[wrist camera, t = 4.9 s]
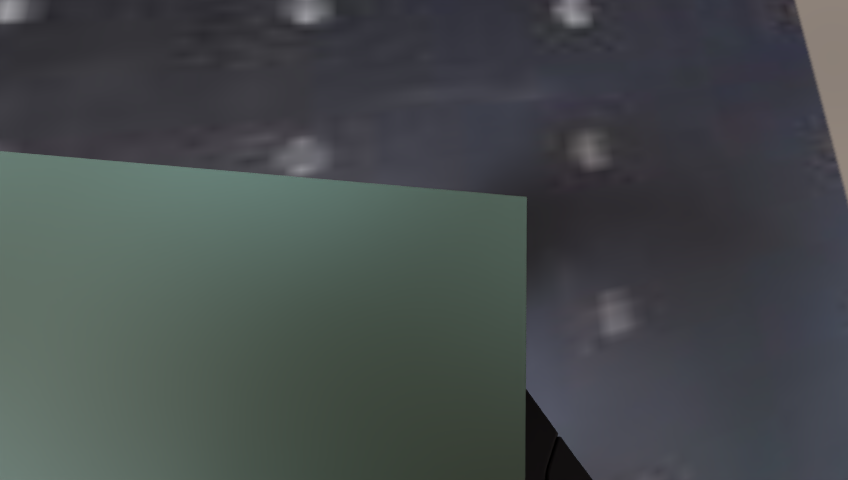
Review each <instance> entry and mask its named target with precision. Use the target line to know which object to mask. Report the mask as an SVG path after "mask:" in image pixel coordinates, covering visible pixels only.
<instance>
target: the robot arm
mask: <svg viewBox="0 0 848 480" xmlns="http://www.w3.org/2000/svg"><path fill="white" fill-rule="evenodd" d="M557 436H558V433H557V431H556V430H555V428H554V427H553V426H552V424H551V423H550V421H549V420H548V419H547V417H546V416H545V415H544V413H543V412H542V410H541V409H540V408H539V406H538V405H537V403H536V402H535V401H534V399H533V398H532V396H531V395H530V394H529V392H528V391H527V390H526V413H525V480H592V478H591V477H590V476H589V474H588V473H587V472H586V470H585V469H584V468H583V466H582V465H581V464H580V462H579V461H578V460H577V459H576V457H575V456H574V455H573V453H572V452H571V450H570V449H569V448H568V446H567V445H566V443H565V442H564V441H563V439H562V438H561V437H557Z"/></svg>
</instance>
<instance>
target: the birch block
mask: <svg viewBox="0 0 848 480" xmlns="http://www.w3.org/2000/svg"><path fill="white" fill-rule="evenodd" d="M526 252H527V197H522V196H510V195H499V194H487V193H476V192H464V191H453V190H441V189H430V188H418V187H406V186H395V185H383V184H372V183H360V182H349V181H337V180H326V179H314V178H303V177H291V176H279V175H268V174H256V173H245V172H233V171H222V170H210V169H199V168H187V167H175V166H164V165H152V164H141V163H129V162H118V161H106V160H95V159H83V158H72V157H60V156H48V155H37V154H25V153H14V152H2V151H0V480H525V413H526Z"/></svg>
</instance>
